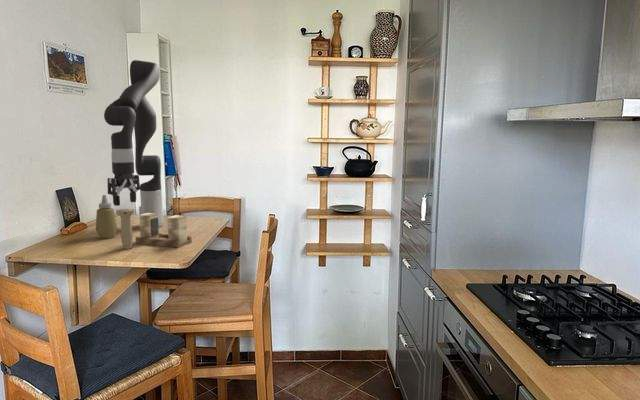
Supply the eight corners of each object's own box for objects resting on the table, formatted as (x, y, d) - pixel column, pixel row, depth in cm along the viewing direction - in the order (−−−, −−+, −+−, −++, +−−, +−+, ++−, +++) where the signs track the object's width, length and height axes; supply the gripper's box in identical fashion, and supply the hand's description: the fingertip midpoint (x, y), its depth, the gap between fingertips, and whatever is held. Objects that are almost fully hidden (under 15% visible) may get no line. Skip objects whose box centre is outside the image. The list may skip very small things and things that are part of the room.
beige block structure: (135, 242, 176) (134, 215, 174) (150, 237, 185) (149, 211, 183) (178, 247, 170) (177, 219, 168) (191, 242, 179) (190, 215, 177)
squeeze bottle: (121, 236, 186) (119, 194, 184) (105, 240, 179) (102, 197, 176) (108, 234, 190) (105, 193, 187) (91, 238, 183) (88, 195, 180)
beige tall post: (136, 249, 167) (134, 210, 165) (117, 250, 165) (115, 211, 163) (136, 246, 172) (134, 208, 169) (118, 247, 169) (116, 209, 167)
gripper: (128, 159, 171) (130, 200, 173) (99, 161, 157) (102, 206, 160) (144, 160, 169) (146, 201, 171) (117, 162, 155) (119, 207, 158)
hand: (125, 203), depth 166 cm, fingers open, 8 cm apart
